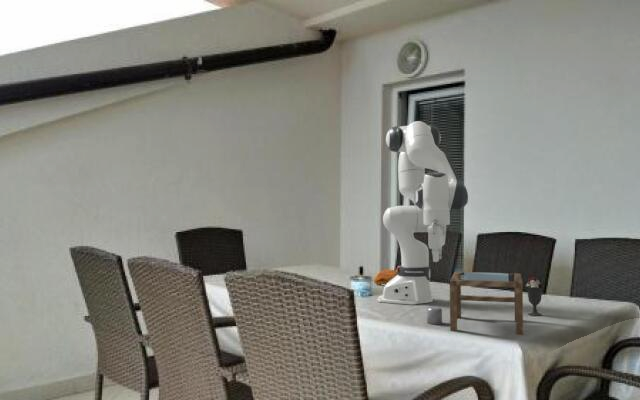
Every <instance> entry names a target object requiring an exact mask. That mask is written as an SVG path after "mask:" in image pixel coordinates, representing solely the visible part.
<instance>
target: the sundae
mask: <svg viewBox="0 0 640 400" xmlns="http://www.w3.org/2000/svg"><path fill="white" fill-rule="evenodd" d="M527 275H528V276H529V278H528V282H527V283H526V285H525V286H524V287H525V289H526V291H527V298H528V302H529V303H530V304H531V305H532V310H531V312H528V313H527V315H528V316H531V317H542V316H543V313H539V312H538V308H537V306H538V305H539V304H540V303H541V301H542V293H543V290H544V289H545V286H544V285H543V284H544V281H542V282H540V280H538V279H537V278H535V277H533V275H532V274H531V273H530V272H527Z"/></svg>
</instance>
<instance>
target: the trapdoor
mask: <svg viewBox="0 0 640 400" xmlns="http://www.w3.org/2000/svg"><path fill="white" fill-rule="evenodd" d="M509 277H510V276H509V273H504V272H478V271H477V272H476V271H473V272H467V271H466V272H464V275H463V279H462V280H478V281H510V279H509Z"/></svg>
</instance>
